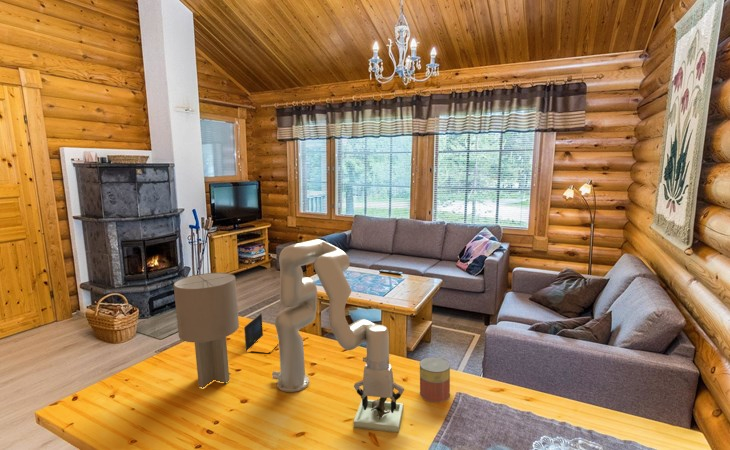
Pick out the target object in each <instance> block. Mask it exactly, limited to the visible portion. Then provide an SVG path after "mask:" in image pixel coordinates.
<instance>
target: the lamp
mask: <svg viewBox="0 0 730 450" xmlns="http://www.w3.org/2000/svg"><path fill="white" fill-rule="evenodd" d="M236 280H237V279H236V276H235V274H231V273H228V272H207V273H200V274H194V275H189V276H185V277H182V278H180V279H179V280H178V279H177V280H176V281H175V282H174V283H173V291H174V293H173V294H174V301H175V311H176V323H177V331H178V337H179V339H180V340H182V341H183V342H187V343H194V351H195V361H196V362H195V363H196V370H197V371H196V372H197V382H198V388H199V387H202V388H203V387H205V386H206V385H207V384H209V383H210V382H212V381H213V380H216V381H220V382H224V383H226V382H228V381H229V380H230V371H229V369H230V368H229V357H228V345H227V337H229V336H231V335H232V334H234V333H236V332H237V331H238V330H239V328H240V323H239V321H240V320H239V310H238V309H239V308H238V306H239V305H238V295H237V281H236Z"/></svg>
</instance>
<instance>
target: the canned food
mask: <svg viewBox="0 0 730 450" xmlns="http://www.w3.org/2000/svg"><path fill="white" fill-rule="evenodd" d="M450 369H451V363H450V362H449V361H448V360H447V359H444V358H443V357H438V356H428V357H424V358H422V359H420V361H419V395H420V397H421V398H422V399H423V400H425V401H426V402H431V403H443V402H445V401H447V400H449V399H450V396H451V391H450V390H451V388H450V387H451V382H450V381H451V379H450V378H451V370H450Z"/></svg>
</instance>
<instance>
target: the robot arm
mask: <svg viewBox="0 0 730 450" xmlns="http://www.w3.org/2000/svg"><path fill="white" fill-rule="evenodd" d="M278 261H279V263H278V264H279V269H280V271H279V272H280V273H279V274H280V275H279V277H280V278H279V301H280V304H281V305H282V306H284V307H286V308H284V309H282V310H280V311H279V312H278V313H277V314H276V316H275V317H274V325H275V330H276V333H277V337H278V340H279V344H278V352H279V366H280V371H277V370H276V371H275V370H274V371H272V380H273V379H274V380H278V381H277V389H279V390H280V391H282V392H285V393H295V392H296V393H297V392H299V391H302V390H304V389H306V388H307V387H308V386H309V385H310V378H309V376H308V375H306V366H305V351H304V350H305V349H304V346H305V345H304V338H303V337H302V335H301V334H300V333H299V330H301V329H303V328H304V327H307V326H309V325H310V324H312V323H313V322H314V321H315V319H316V317H317V315H316V314H317V305H318V302H317V301H318V288H317V284H316V283H315V281H314V280H313V279H312V278H311V277H308V276H304V272H303V269H302V266H303V267H304V266H306V265H310V264H313V269H314V270H315V273H316V276H317V277H318V279H319V281H320V283H321V286H322V287H323V289H324V292H325V294H326V296H327V298H328V301H329V307H328V320H329V321H328V322H329V327H330V329H331V331H332V333H333V335H334V337H335V340H336V341H337V343H338V344H339V346H340V347H341V348H342V349H344V350H346V351H352V350H355V349H356V348H358V347H359V346H361V345H363V344H366V356H365V357H362V363H363V362H364V363H365V365H364V368H363V375H362V378H363V379H362V380H359V381H357V382H354V384H353V388H354V389H355V391H356V393H357V394H358V396H359V397H360V399H361V401H362V406H364V410H366V408H367V406H368V398H369V397H373V398H374V397H375V398H381V397H383V398H387V399H390V402H391V412H392V413H393V412H394V409H396V402H397V401H398V400H399V399H400V398H401V396H402V395H403V393H404V390H405V388H404V387H403V386H401V385H400V384H398V383H396V382H395V381H394V375H393V374H394V373H393V367H392V365H391V364H390V343H389V342H390V337H389V333H390V332H389V329H388V327H387V326H385V325H383V324H377V323H374V322H372V321H370V320H368V319H366V318H360V319H358V320H356V321H354V322H352V323H350V324H349V323H348V320H347V318H346V312H345V311H346V304H347V302H348V300H349V297H350V295H351V293H352V288H351V286H350V284H349V282H348V279H347V278H346V276H345V274H344V272H345V271H347V270H348V269H349V267H350V262H351V261H350V257H349V255H348V254H347V253H346V252H345V251H344V250H342V249H340V248H339V247H337V246H335V245H333V244H332V243H329V242H328V241H325V240H322V239H319V238H316V239H311V240H306V241H301V242H298V243H293V244H290V245H287V246H286V247H284V248H283V249H282V250H281V251H280V253H279V258H278ZM361 387H362V388H361ZM394 389H395V390H396V391H398V392H395V391H394Z"/></svg>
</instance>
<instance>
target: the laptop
mask: <svg viewBox="0 0 730 450" xmlns="http://www.w3.org/2000/svg"><path fill="white" fill-rule="evenodd" d="M262 317H263V315H262V313H260V314H258V315H257V316H256V317H255V318H253V319H252V320H251V321H250V322H248V323H247V324H246V325H245V326H243V327H244V329H243V331H244V342H245V343H244V344H245V352H247V350H248V349H249V348H251V347H252V346H253V344H254V343H255V342H256V341H257V340H258V339H259V338H261V337H262V336H264V331H263V318H262ZM272 336H273V337H276V336H274V335H272ZM277 338H278V336H277Z"/></svg>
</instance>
